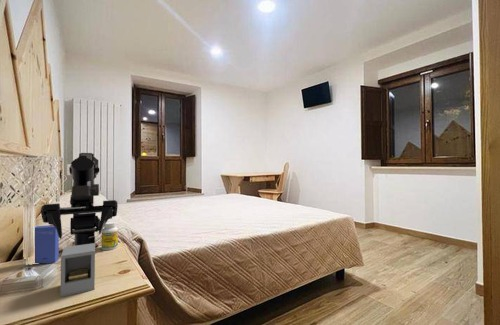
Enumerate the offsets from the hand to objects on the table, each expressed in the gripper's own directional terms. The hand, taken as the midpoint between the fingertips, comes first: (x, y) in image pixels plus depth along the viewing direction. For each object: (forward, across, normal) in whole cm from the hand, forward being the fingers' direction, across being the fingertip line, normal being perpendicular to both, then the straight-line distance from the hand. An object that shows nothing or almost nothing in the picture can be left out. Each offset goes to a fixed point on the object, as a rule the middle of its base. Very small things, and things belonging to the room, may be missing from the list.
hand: (80, 235), depth 70 cm
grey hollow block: (+13, 0, +4) cm, 13 cm away
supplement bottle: (-8, +8, +25) cm, 27 cm away
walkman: (-4, -11, +22) cm, 24 cm away
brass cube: (+13, 0, +5) cm, 14 cm away
